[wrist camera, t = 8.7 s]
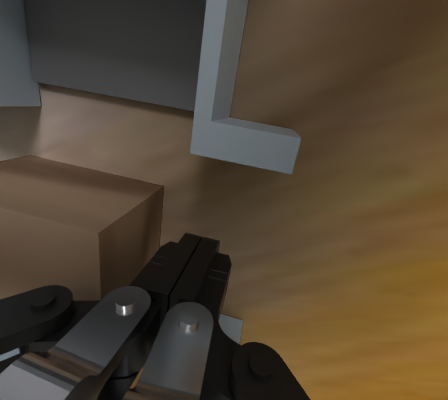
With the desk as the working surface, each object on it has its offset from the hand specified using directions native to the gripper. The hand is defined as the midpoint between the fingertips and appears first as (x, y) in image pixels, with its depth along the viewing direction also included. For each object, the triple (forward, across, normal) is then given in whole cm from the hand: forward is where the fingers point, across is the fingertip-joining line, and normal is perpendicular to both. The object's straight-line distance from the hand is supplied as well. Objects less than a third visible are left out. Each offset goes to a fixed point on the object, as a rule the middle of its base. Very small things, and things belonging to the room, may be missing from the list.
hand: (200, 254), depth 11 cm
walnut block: (+1, +6, 0) cm, 6 cm away
